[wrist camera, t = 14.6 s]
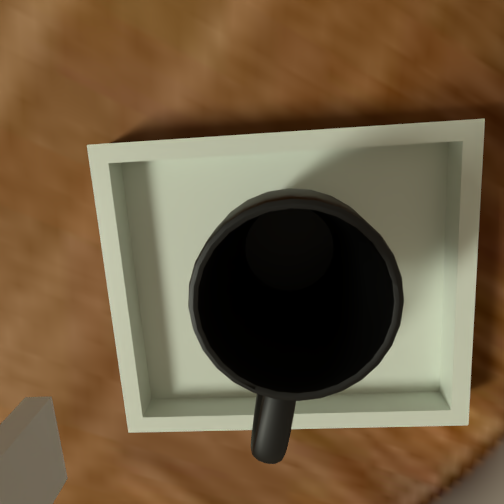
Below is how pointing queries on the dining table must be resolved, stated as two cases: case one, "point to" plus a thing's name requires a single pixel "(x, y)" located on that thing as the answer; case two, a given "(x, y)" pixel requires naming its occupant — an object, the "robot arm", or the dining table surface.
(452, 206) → the tray
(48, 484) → the robot arm
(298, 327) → the mug
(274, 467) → the dining table surface
